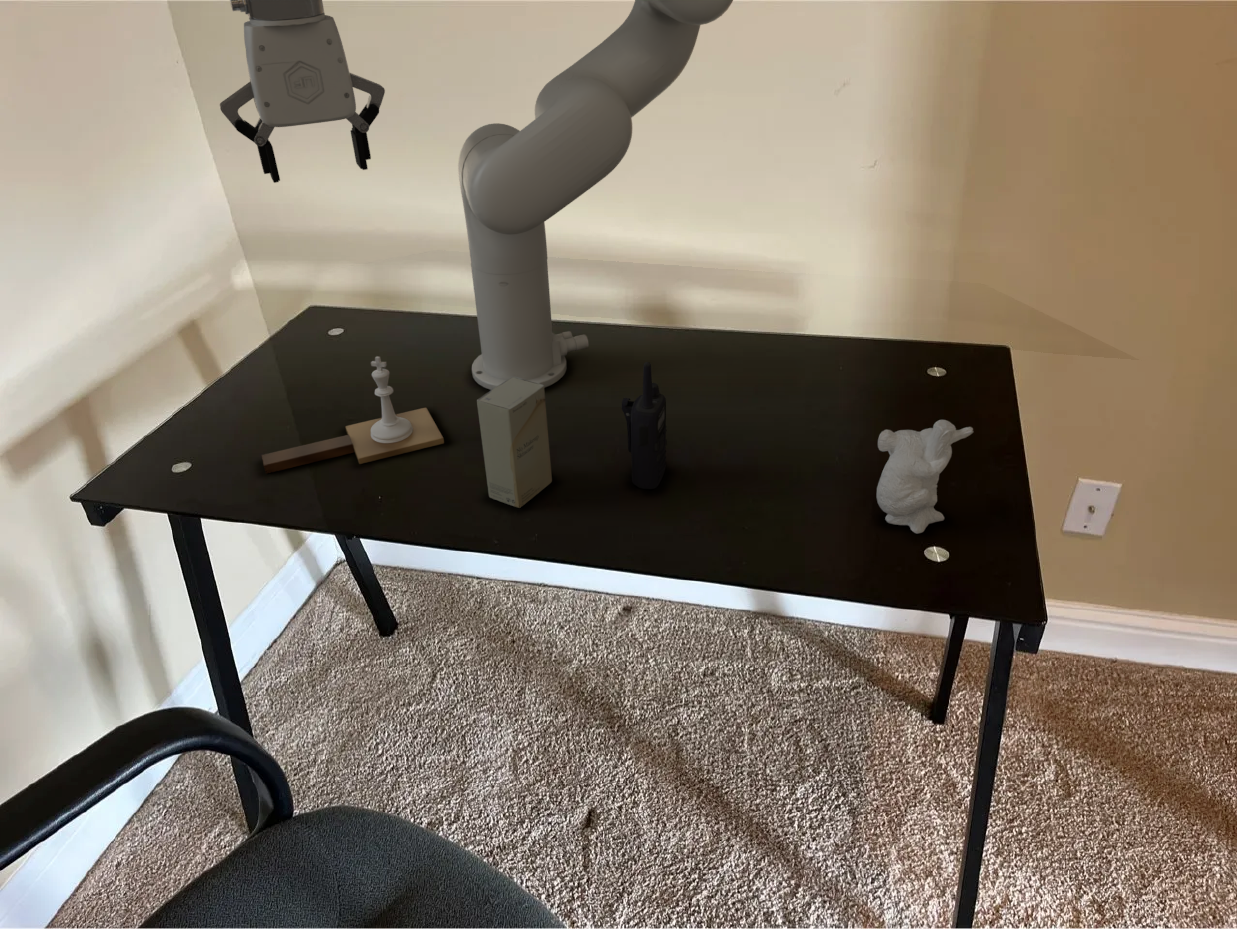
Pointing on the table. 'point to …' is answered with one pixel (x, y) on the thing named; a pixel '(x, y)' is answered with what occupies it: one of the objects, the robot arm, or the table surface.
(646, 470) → the two-way radio
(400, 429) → the chess piece
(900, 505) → the koala figurine
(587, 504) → the table surface
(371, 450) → the spatula
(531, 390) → the cosmetic box
